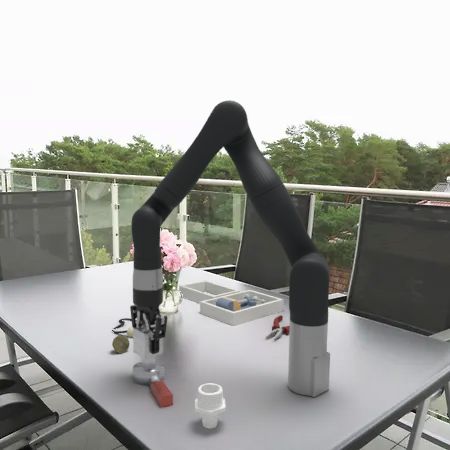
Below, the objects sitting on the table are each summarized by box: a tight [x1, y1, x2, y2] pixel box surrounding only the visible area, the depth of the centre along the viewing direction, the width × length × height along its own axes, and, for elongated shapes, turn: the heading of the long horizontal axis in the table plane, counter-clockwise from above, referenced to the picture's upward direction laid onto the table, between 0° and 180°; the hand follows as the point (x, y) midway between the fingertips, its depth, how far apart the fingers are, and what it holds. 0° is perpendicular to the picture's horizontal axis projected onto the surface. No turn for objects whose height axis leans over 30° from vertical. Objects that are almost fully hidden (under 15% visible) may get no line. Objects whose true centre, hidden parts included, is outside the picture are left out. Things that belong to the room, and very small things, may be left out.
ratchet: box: [132, 355, 174, 408], centre depth 112 cm, size 20×8×6 cm, turn 25°
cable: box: [111, 317, 156, 338], centre depth 154 cm, size 16×16×4 cm
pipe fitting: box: [194, 382, 226, 430], centre depth 96 cm, size 6×7×8 cm
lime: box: [111, 334, 130, 354], centre depth 134 cm, size 4×5×5 cm
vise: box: [216, 294, 265, 312], centre depth 172 cm, size 18×10×7 cm, turn 131°
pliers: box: [265, 315, 290, 341], centre depth 153 cm, size 12×21×3 cm, turn 150°
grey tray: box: [178, 280, 241, 304], centre depth 190 cm, size 22×14×4 cm, turn 42°
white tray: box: [199, 289, 285, 327], centre depth 173 cm, size 18×26×4 cm
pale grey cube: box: [132, 325, 164, 359], centre depth 116 cm, size 6×6×6 cm
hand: (148, 349), depth 117 cm, fingers closed on pale grey cube, 5 cm apart
